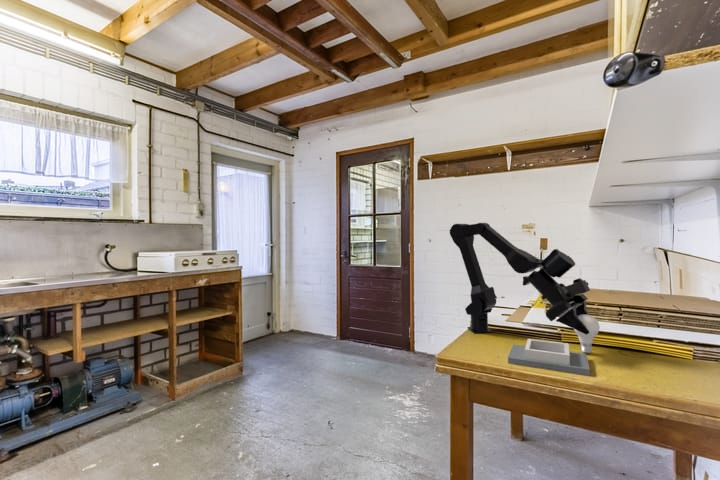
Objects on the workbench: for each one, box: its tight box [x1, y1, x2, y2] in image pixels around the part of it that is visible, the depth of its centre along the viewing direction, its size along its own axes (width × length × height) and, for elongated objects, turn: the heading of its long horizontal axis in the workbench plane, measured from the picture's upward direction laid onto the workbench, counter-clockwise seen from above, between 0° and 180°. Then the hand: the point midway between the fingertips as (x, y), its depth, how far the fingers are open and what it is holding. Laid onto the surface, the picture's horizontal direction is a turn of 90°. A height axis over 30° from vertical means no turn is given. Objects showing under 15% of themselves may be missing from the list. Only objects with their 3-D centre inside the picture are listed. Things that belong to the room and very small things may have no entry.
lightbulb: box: [573, 314, 601, 355], centre depth 95 cm, size 6×6×11 cm
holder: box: [507, 338, 591, 377], centre depth 90 cm, size 18×12×4 cm, turn 59°
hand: (591, 330), depth 94 cm, fingers closed on lightbulb, 6 cm apart
